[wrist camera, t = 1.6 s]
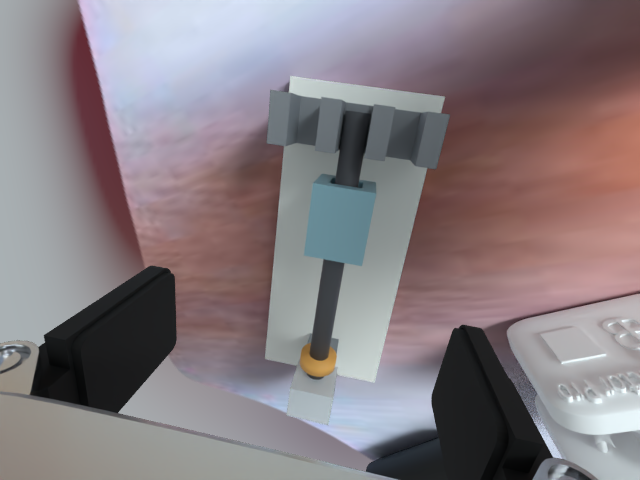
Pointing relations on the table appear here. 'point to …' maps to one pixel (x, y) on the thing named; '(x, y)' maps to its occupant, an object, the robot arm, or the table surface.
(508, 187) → the table surface
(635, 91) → the table surface
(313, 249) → the sleeve
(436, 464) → the end cap
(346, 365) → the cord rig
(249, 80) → the table surface
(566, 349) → the cable organizer
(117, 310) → the robot arm
